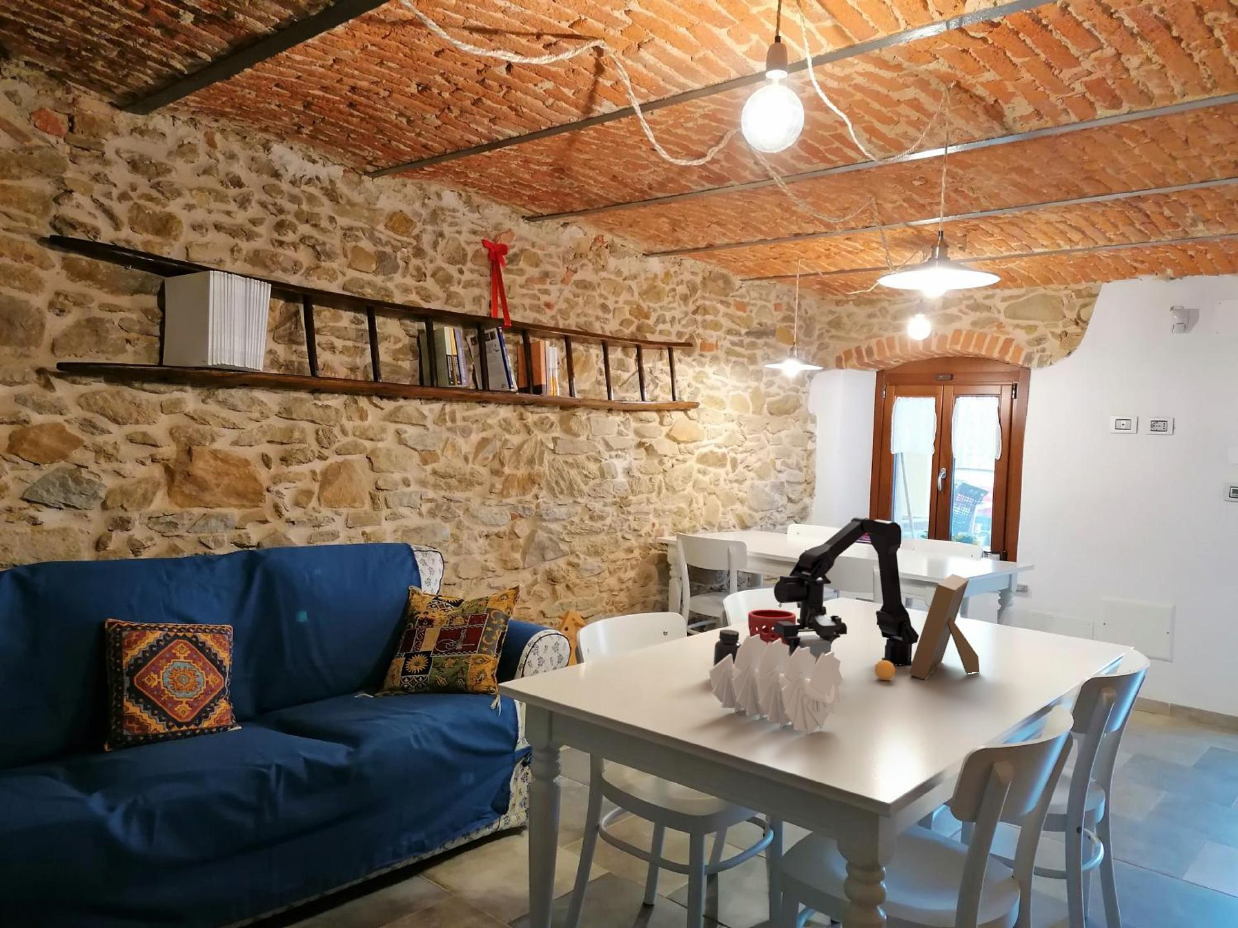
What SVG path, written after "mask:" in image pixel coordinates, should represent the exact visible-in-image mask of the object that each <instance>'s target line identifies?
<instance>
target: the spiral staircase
mask: <svg viewBox="0 0 1238 928" xmlns="http://www.w3.org/2000/svg"><path fill="white" fill-rule="evenodd" d="M740 644H741V646H740V647H739V648H738V650H737V654H736V659H735V663H734V664H733V658H732V654H729V655H728V656H726V657H725V658H724V659H723V660H721V661H720V662H719V663H718V664H716V665H715V666H714V665H713V666H714V667H713V666H712V667H711V668H710V669H709V670H708V672H709V678H710V683H711V687H712V688H713V689H712V691H711V693H712V694H713V695H714V696H715V698H716V699H717V700H718V701H719V702H720V703H721V708H724V709H734V712H735V713H738V712H740V710H741V709H743V710H744V711H745V716H748V717H749V716H759V719H761V720H762V719H763V718H764V717H765V716H766V717H767V718H766V721H768V722H772V723H775V724H779V728H780V727H781V729H782V728H784V727H785V726H787V724H789V723H791V724H792V725H793V730H794V731H806V735H807V736H810V735H811V734H812V733H813V732H814V731H815V730H816V729H817V728H818V727H819V729H823V728H824V725H825V722H826V720H827V718H828V715H829V713H832V714H834V711H835V705H836V704H837V703H838V702H840V688H839V687H840V685H841V683H842V682H843V677H842V674H841V672H840V667H841V666H840V665H841V662H842V661H841V660H839V659H838V658H837V657H835V652H834V651H832V650H831V652H829V653H827V654H825V653H822V654H821V655H820V657H819V659H818V660H817V662H816V664H815V661H816V657H814V656H813V655H812V654H811V653H810V647H806V648H802V649H801V648H800V646H798V647H797V648H796V650H795V651H794V653H793V654H792V655H791V657H790V656H789V654H788V651H789V646H788V645H785V644H783V643H782V639H781V638H779V639H778V640H776V641H774V642H773V643H771V642H769V643H768V645H767V643H766V642H764V641H763V640H761V639H760V634H757V635H755V636H752V637H750V635H746V636H745V639H744V640H743V642H741V643H740Z"/></svg>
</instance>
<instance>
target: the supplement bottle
mask: <svg viewBox="0 0 1238 928" xmlns="http://www.w3.org/2000/svg"><path fill="white" fill-rule="evenodd" d="M718 634H719V636H718V639H719V640H718V641H716V642H715V644H714V651H713V666H712V668H713V667H714V666H715V665H716V664H718V663H719V662H720V661H721V660H723V659H724V658H725V657H726V656H728V655H729V654H732V658H733V664H734V663H735V659H736V654H737V650H738V648H739V647H740V646H741V644H742V643H740V642H739V641H740V637H739V636H740V632H739V631H738V630H734V629H721V630H720V631H719V633H718Z"/></svg>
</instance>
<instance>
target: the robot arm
mask: <svg viewBox="0 0 1238 928" xmlns="http://www.w3.org/2000/svg"><path fill="white" fill-rule="evenodd" d="M865 535H868V537H869V541H870V544H871V546H872V547H873V549H874V550H875V551H876V554H877V559H878V561H877V563H878V568H879V569H878V570H879V580H880V588H881V598H882V605H881V607H880V608H879V609H880V610H876V611H875V615H876V625H877V626H878V628H879V630H880V634H881V637H882V638H885V639H886V641H885V642H886V643H885V645H884V657H881V661H882V660H887V661H889V662H891V663H892V664H893V665H894V666H907V665H909V666H911V664H912V661H913V660H912V655H913V654H912V653H913V645H914V644H918V642H919V639H920V634H918V632H917V631H916V630H915V627H913V626H912V621H911V618H910V614H909V611H908V610H907V609H906V607H905V606H904V604H903V601H902V591H901V582H900V573H899V572H900V571H899V564H898V563H899V562H898V554H897V553H898V550H899V549H900V546H901V544H902V528H901V525H900V524H898V523H897V522H895V521H890V520H883V519H874V520H873V519H870V518H868V517H863V516H855V517H853V518H852V519H851V520H850V521H849V522H848V523H847V524H846V525H845V526H844V527H842V528H841V529H840V530H838V531H837V532H836V533H834V534H833V536H831V537H830V538H829V539H828V540H826V541H825V542H824V543H822V544H821V545H816V546H813V547H811V548H809V549H808V550H805V551H803V552H802V553H800V555H799V556H798V560H797V562H796V564H795V565H794V567H793V569H792V570H791V571H790V573H789V575H788V576H787V575H780V576H779V580H778V581H777V582H776V583H775V585H774V587H773V595H774V598H775V600H776V601H777V602H778V603H779V604H788V603H789V604H792V603H797V608H799V618H796V624H793V623H791V622H788V621H784V622H776V623H775V625H774V627H773V629H774V632H775V633H777V634H779V635H781V636H783V637H784V639H785V641H786V643H787V645H788V646H789V650H790V652H791V655H792V654H793V653H794V651H795V650H796V648H797V647H798V643H799V641H800V639H801V638H800V637H798V636H799V633H810V632H811V633H812V632H815V635H816V636H818V637H821V638H823V639H825V640H828V641H830V642H831V645H832V644H833V642H834V641H835V640H837V639H839V638H841V635H848V626H847V625H846V623H845V622H842V617H841V616H840V615H839V614H836V615H835V614H834V615H833V614H832V615H828V614H827V608H826V607H827V606H824V592H825V585H831V583H832V581H831V580H830V579H829V578H828V577H827V573H829V572H830V570H831V569H832V568H833V567H834V565H835V561H836V559H837V558H838V557H839V556H840V555H841V554H842V553H844V552H845V551H846V550H848V549H849V548H850V547H851V546H853V545H854V544H855V543H856V542H857V541H858V540H860V539H861V538H862V537H864V536H865Z"/></svg>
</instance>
